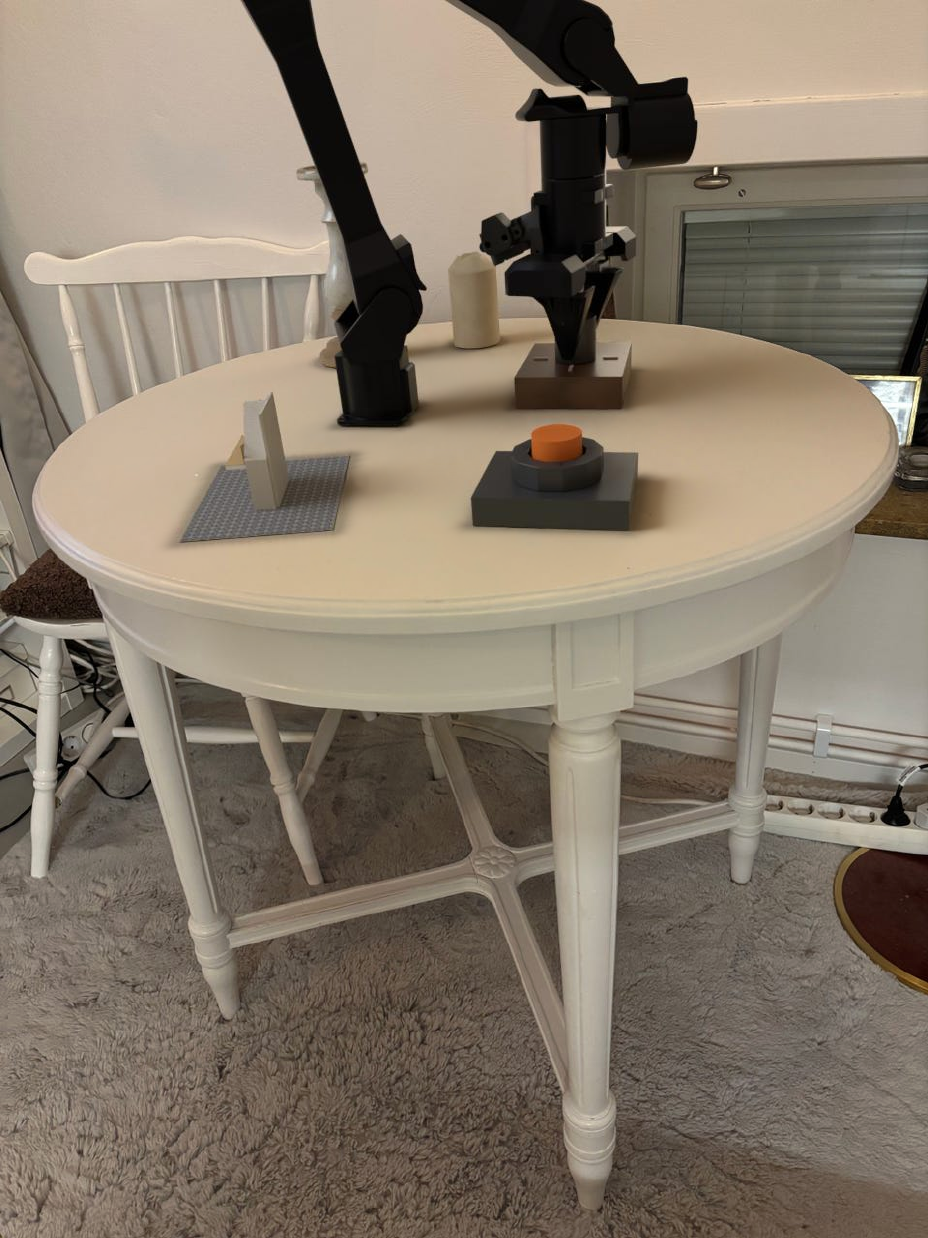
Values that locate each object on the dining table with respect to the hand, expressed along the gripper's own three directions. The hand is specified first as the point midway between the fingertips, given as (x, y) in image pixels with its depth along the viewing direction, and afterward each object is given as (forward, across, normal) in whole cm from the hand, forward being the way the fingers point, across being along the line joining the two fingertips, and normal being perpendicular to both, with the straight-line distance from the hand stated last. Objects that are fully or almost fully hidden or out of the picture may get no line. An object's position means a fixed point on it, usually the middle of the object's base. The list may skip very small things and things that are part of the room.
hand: (575, 353), depth 88 cm
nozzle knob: (0, 0, 0) cm, 0 cm away
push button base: (+4, +26, +8) cm, 27 cm away
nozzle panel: (+4, 0, 0) cm, 4 cm away
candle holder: (+4, -5, -29) cm, 30 cm away
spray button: (0, +26, +8) cm, 27 cm away
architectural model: (+4, +31, -14) cm, 34 cm away
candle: (+4, -14, -18) cm, 23 cm away
